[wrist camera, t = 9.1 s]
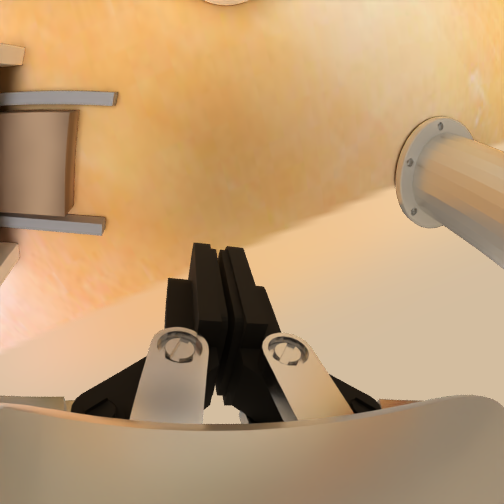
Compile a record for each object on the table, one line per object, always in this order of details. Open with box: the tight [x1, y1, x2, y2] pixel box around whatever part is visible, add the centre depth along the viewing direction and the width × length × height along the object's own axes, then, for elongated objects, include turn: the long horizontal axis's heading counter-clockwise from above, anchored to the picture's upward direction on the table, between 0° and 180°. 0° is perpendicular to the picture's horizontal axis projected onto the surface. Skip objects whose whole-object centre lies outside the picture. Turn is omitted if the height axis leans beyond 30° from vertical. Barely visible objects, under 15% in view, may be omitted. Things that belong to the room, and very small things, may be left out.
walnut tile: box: [0, 110, 80, 217], centre depth 20 cm, size 11×8×3 cm
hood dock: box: [0, 43, 118, 286], centre depth 18 cm, size 15×19×6 cm
